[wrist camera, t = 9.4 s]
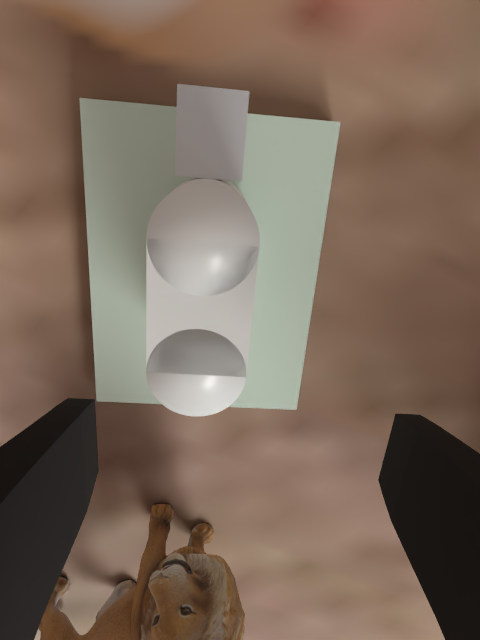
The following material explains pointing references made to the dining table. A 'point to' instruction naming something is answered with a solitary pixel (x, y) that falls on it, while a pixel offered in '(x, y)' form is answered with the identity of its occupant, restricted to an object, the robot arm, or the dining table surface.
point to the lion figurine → (162, 595)
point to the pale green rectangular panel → (267, 207)
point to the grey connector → (202, 260)
